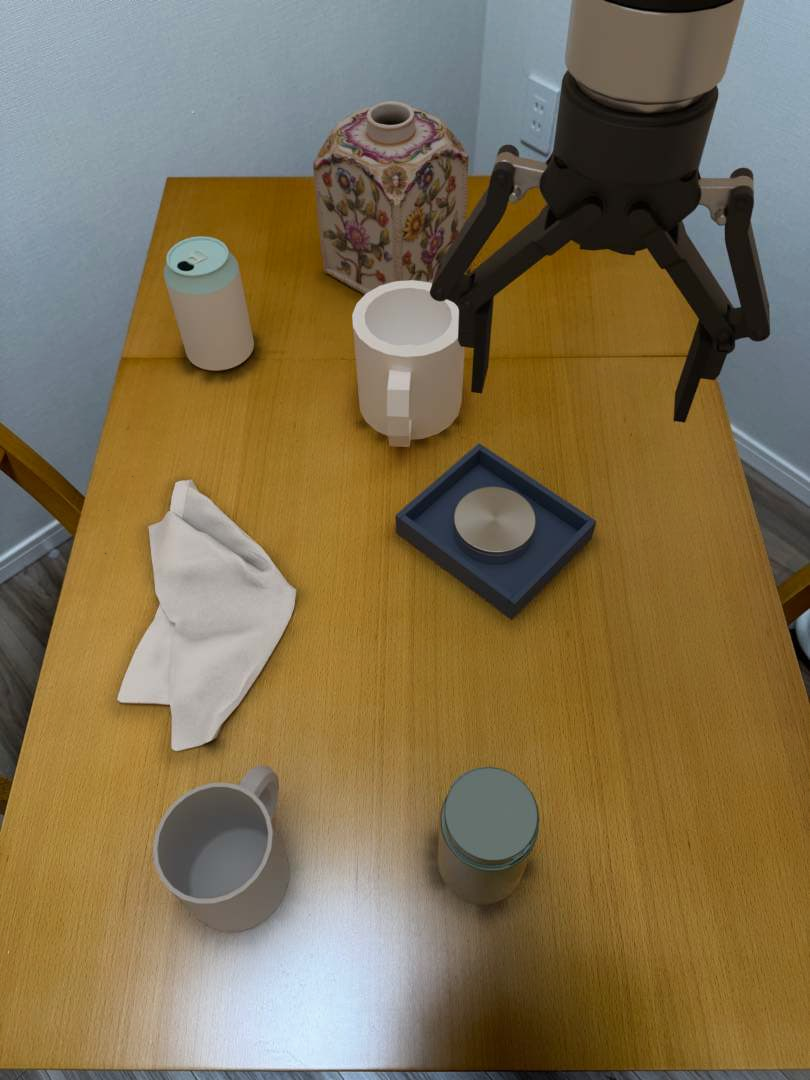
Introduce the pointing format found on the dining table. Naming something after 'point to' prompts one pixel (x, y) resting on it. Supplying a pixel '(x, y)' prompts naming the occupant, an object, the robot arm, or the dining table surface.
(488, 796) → the jar
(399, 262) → the decorative jar
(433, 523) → the tray
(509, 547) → the lid
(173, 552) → the cloth
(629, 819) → the dining table surface
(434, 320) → the mug
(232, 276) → the can
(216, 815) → the cup
